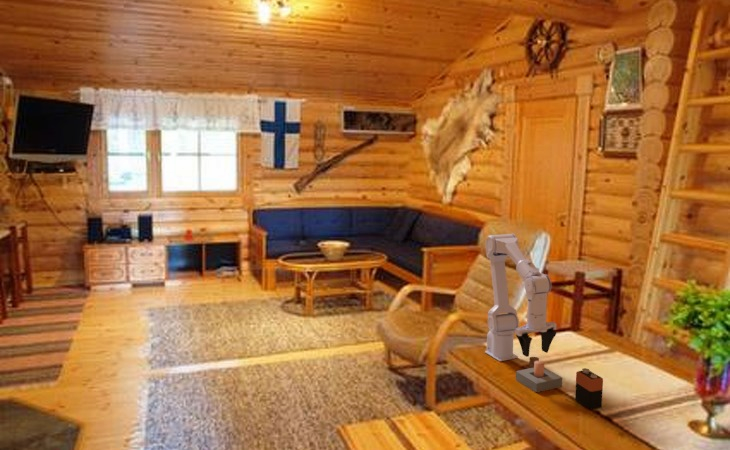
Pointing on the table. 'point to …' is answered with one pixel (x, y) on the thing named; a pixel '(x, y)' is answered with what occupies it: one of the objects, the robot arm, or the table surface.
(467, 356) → the table surface
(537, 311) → the robot arm
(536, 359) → the short peg
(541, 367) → the long peg
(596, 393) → the battery
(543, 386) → the hole block
